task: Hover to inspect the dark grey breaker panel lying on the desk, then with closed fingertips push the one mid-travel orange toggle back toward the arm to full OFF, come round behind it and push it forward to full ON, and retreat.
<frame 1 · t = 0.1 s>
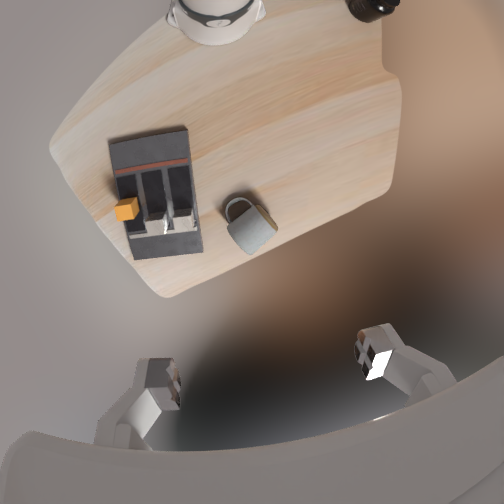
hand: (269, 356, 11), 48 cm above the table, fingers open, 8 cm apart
breaker panel: (157, 197, 55), on the table
tripped toggle: (127, 208, 51), point 5 cm above the table, slide at 4.0 cm
ceramic mug: (246, 218, 60), on the table
supplement bottle: (361, 10, 39), on the table
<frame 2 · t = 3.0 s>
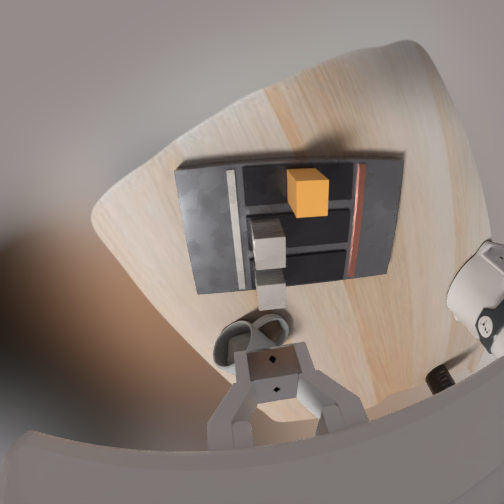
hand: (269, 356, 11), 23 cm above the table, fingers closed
breaker panel: (296, 223, 33), on the table
tripped toggle: (306, 191, 27), point 5 cm above the table, slide at 4.0 cm
ceramic mug: (253, 330, 42), on the table
supplement bottle: (434, 372, 58), on the table
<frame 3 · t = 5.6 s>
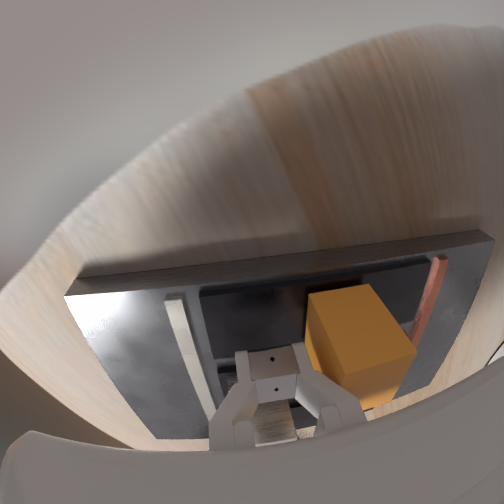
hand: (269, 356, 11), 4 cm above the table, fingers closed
breaker panel: (310, 355, 18), on the table
tripped toggle: (352, 350, 11), point 5 cm above the table, slide at 3.8 cm, touching gripper
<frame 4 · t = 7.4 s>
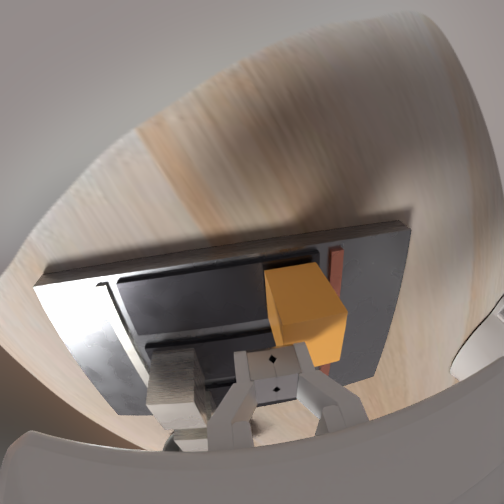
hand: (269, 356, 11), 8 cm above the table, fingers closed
breaker panel: (231, 339, 21), on the table
tripped toggle: (301, 315, 14), point 5 cm above the table, slide at -0.1 cm
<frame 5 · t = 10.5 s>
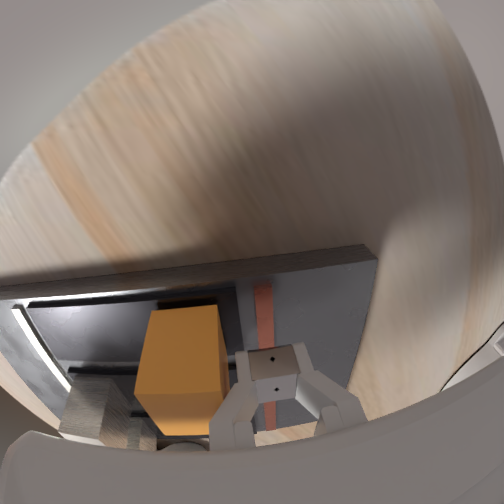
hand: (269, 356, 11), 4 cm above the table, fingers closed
breaker panel: (159, 370, 17), on the table
tripped toggle: (189, 372, 11), point 5 cm above the table, slide at 0.4 cm, touching gripper
ceramic mug: (167, 449, 25), on the table
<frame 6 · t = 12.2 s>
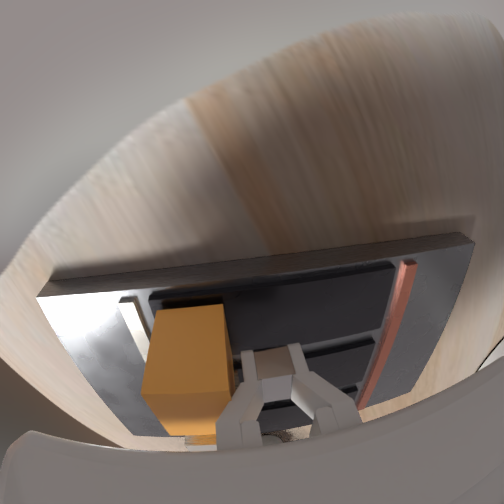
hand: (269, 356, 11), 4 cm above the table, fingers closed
breaker panel: (275, 359, 18), on the table
tripped toggle: (195, 372, 11), point 5 cm above the table, slide at 8.1 cm, touching gripper
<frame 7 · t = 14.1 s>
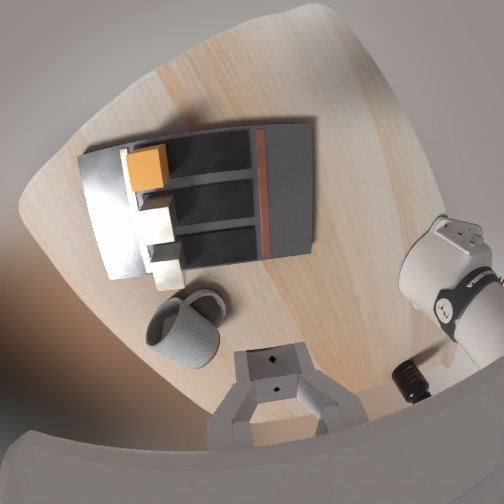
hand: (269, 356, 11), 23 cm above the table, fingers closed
breaker panel: (198, 200, 31), on the table
tripped toggle: (149, 166, 24), point 5 cm above the table, slide at 8.1 cm
ceramic mug: (189, 311, 39), on the table
supplement bottle: (401, 368, 58), on the table
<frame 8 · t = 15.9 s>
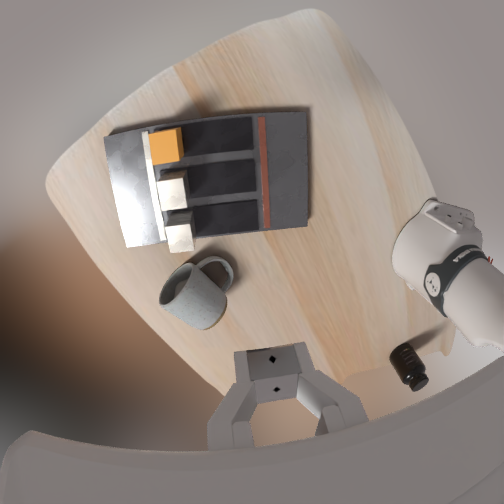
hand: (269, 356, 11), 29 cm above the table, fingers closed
breaker panel: (208, 177, 36), on the table
tripped toggle: (167, 145, 29), point 5 cm above the table, slide at 8.1 cm
ceramic mug: (200, 277, 44), on the table
supplement bottle: (399, 351, 61), on the table
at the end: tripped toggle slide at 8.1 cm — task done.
